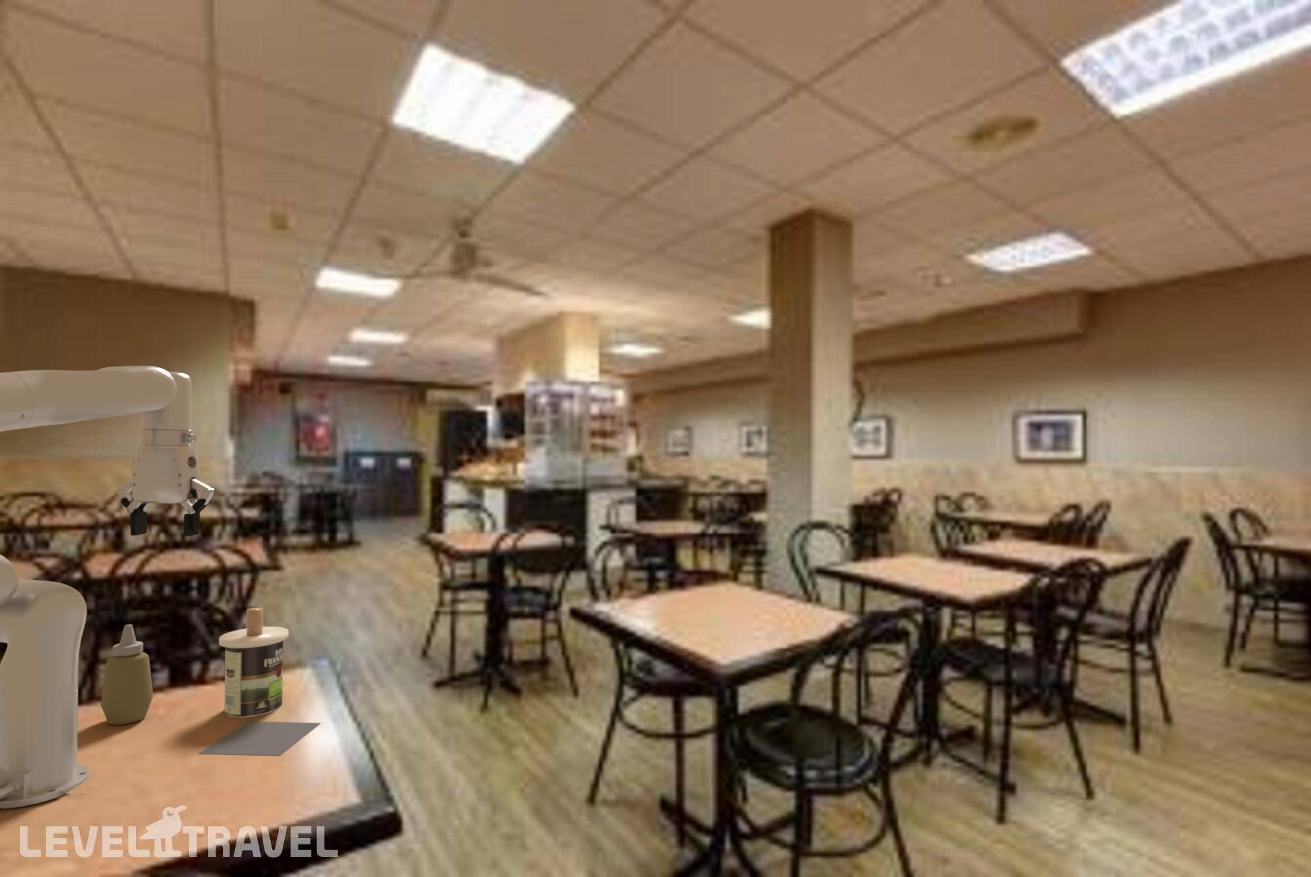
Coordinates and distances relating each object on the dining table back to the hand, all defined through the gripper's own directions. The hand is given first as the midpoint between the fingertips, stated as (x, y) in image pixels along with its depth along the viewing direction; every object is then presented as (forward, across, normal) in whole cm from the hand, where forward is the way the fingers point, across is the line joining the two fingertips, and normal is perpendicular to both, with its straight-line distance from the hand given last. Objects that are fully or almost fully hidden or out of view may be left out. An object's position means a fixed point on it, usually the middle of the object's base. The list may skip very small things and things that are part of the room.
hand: (165, 535), depth 130 cm
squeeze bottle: (+36, +12, -7) cm, 39 cm away
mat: (+36, -19, +1) cm, 41 cm away
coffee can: (+37, -9, -13) cm, 40 cm away
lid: (+22, -9, -13) cm, 27 cm away
